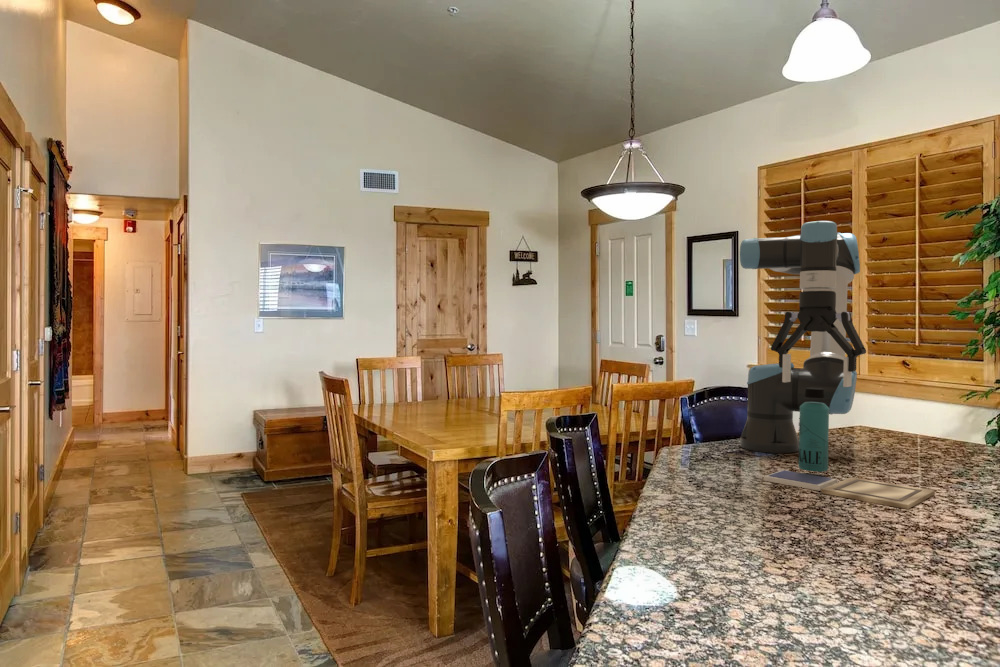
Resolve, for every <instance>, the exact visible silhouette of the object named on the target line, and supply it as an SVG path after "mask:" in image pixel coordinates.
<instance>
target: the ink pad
mask: <svg viewBox="0 0 1000 667" xmlns="http://www.w3.org/2000/svg"><path fill="white" fill-rule="evenodd" d="M763 481H764V482H769V483H775V484H781V485H787V486H790V487H791V486H793V487H796V488H801V487H802V489H808V490H811V491H820V492H821V489H823V488H825V487H828V486H831V485H833V484H836V483H838V479H837V478H832V477H826V476H821V475H815V474H809V473H801V472H797V471H790V470H786V469H785V470H783V469H782V470H779V471H776V472H773V473H770V474H766V475H764V476H763Z"/></svg>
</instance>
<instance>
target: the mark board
mask: <svg viewBox="0 0 1000 667" xmlns="http://www.w3.org/2000/svg"><path fill="white" fill-rule="evenodd" d="M820 492H821V494H824V495H830V496H831V495H832V496H835V497H840V498H841V497H842V498H846V499H852V500H855V501H856V500H857V501H861V502H862V501H863V502H867V503H873V504H878V505H885V506H889V507H894V508H900V509H905V510H909V509H911V508H912V507H915V506H916V505H918V504H920V503H922V502H924V501H925V500H927V499H928V498H931V497H933V496H934V495H935V490H933V489H928V488H927V489H926V488H919V487H913V486H908V485H902V484H896V483H889V482H883V481H878V480H872V479H865V478H860V477H859V478H858V477H854V476H851V477H848V478H846V479H844V480H840V481H837V483H836V484H833V485H831V486H828V487H825V488H823V489H821V490H820Z"/></svg>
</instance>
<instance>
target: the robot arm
mask: <svg viewBox="0 0 1000 667" xmlns="http://www.w3.org/2000/svg"><path fill="white" fill-rule="evenodd" d="M740 242H741V243H740V247H739V262H740V263H739V264H740V265H741V267H742V268H743V269H747V270H748V269H749V270H761V269H762V270H765V269H769V270H771V271H773V272H777V273H778V272H779V273H782V274H789V275H799V289H800V290H802V291H800V292H799V300H798V301H799V302H798V304H799V306H798V307H799V311H798V312H794V311H786V312H785V313H784V320H783V323H782V325H781V326H780V329H779V330H778V332H777V335H776V336H775V338H774V340H773V342H772V345H771V347H770V350H771V351H772V352H776V353H778V363H777V362H776V363H768V364H767V363H766V364H759V365H754V366H752V367H750V369H749V370H748V375H747V382H746V385H747V410H746V411H747V413H746V414H747V416H746V417H747V418H746V421H745V423H744V424H745V425H744V427H743V430H742V433H741V436H740V437H739V438H740V440H739V441H740V442H739V445H740V448H742V449H744V450H749V451H754V452H761V453H771V454H772V453H773V454H776V453H777V454H787V453H788V454H789V453H796V452H799V449H798V447H799V444H798V443H799V435H798V434H797V431H796V427H795V425H794V419H793V418H794V417H793V416H794V412H799V413H800V406H801V405H802V404H803V403H804V402H820V403H824V404H825V405H827V406H828V407H829V416H830V415H845V414H848V413H849V412H850V411H851V410H852V407H853V403H854V398H855V393H856V387H857V386H856V384H857V378H858V374H857V373H858V372H857V371H856V370H857V358H858V356H861V355H865V354H866V353H867V350H866V347H865V345H864V343H863V342H862V340H861V337H860V336H859V334H858V332H857V330H856V328H855V326H854V324H853V322H852V314H851V312H850V311H848V287H849V286H848V284H850V283H852V282H853V280H854V279H855V275H857V274H859V273H860V272H861V265H860V264H861V262H860V256H859V255H860V253H859V245H858V240H857V237H856V235H855V234H854V233H851V232H844V233H843V232H842V233H841V232H838V226H837V223H836V222H834V221H831V220H816V221H808V222H804V223H803V224H802V225H801V227H800V234H797V235H796V234H795V235H791V236H785V237H760V238H759V237H753V238H744V239H743V240H742V241H740ZM797 319H798V321H799V322H800V324H799V325H798V326H797V327H796V328H795V331H793V333H792V334H791V335H790V336H789V337H788V335H789V333H790V331H791V329H792V327H793V325H794V322H796V321H797ZM807 332H809V333H810V332H811V333H810V351H809V357H808V358H806V359H805V360H804V361H803V366H802V368H796V367H795V365H794V363H793V362H792V353H789V352H790V350H791V349H792V348H793V347H794V346H795V345H796V343H797V342H798V341H799V340H800V339H801V338H802V337H803V336H804V334H805V333H807ZM787 337H788V338H787ZM847 337H848V338H849V340H850V342H849V341H848V339H846V338H847ZM786 339H787V340H786ZM785 340H786V341H785ZM850 343H851V344H852V345H851V344H850ZM806 388H822V389H824V395H825V398H809V397H805V389H806Z"/></svg>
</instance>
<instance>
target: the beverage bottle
mask: <svg viewBox="0 0 1000 667" xmlns="http://www.w3.org/2000/svg"><path fill="white" fill-rule="evenodd" d="M805 397H809V398H825V395H824V389H822V388H806V389H805ZM798 421H799V422H798V432H799V433H798V440H799V443H798V444H799V447H798V449H799V451H798V454H797V460H798V461H797V463H798V468H799V469H800V470H802V471H807V472H816V473H817V472H819V473H820V472H822V473H823V472H828V470H829V460H830V459H829V431H830V430H829V428H830V427H829V424H830V422H829V421H830V414H829V407H828V406H827V405H825V404H824V403H820V402H804V403H803V404H802V405H801V406H800V412H799V418H798Z"/></svg>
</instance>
